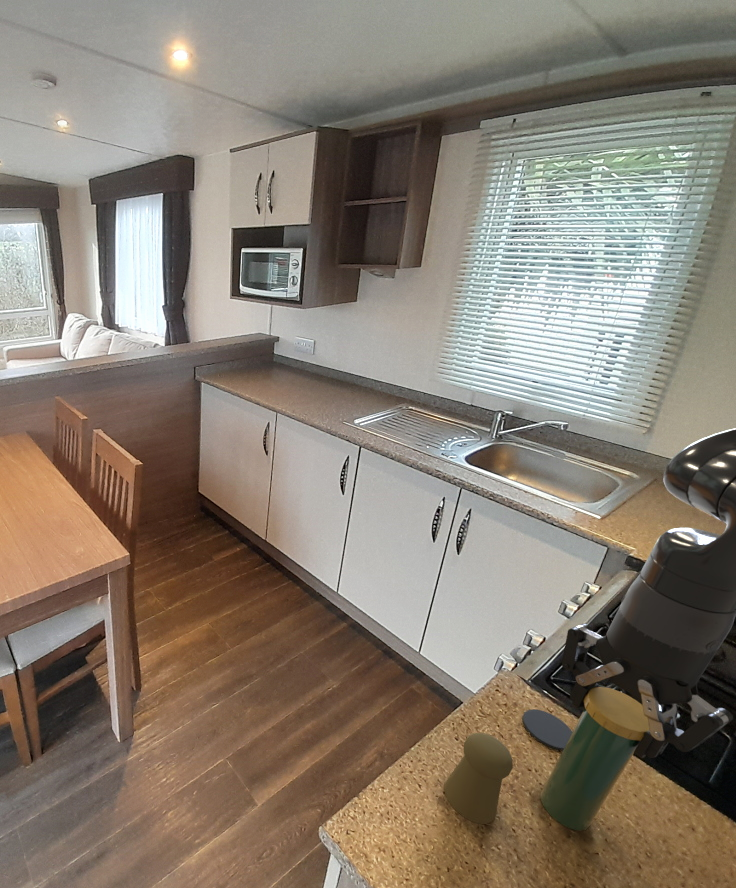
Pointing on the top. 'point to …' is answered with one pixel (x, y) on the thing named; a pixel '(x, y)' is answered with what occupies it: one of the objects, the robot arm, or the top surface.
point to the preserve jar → (585, 773)
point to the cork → (479, 778)
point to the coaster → (546, 728)
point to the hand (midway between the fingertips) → (609, 727)
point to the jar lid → (617, 712)
